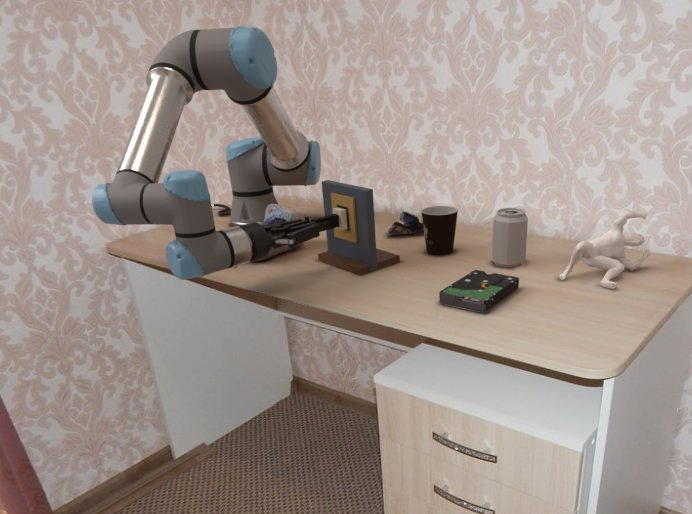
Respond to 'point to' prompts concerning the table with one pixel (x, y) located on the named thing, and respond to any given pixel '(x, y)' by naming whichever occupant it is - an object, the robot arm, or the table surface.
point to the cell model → (277, 215)
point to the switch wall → (353, 230)
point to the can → (509, 237)
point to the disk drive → (479, 291)
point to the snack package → (406, 225)
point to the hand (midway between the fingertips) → (336, 220)
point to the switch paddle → (341, 218)
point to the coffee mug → (439, 229)
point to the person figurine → (609, 251)
